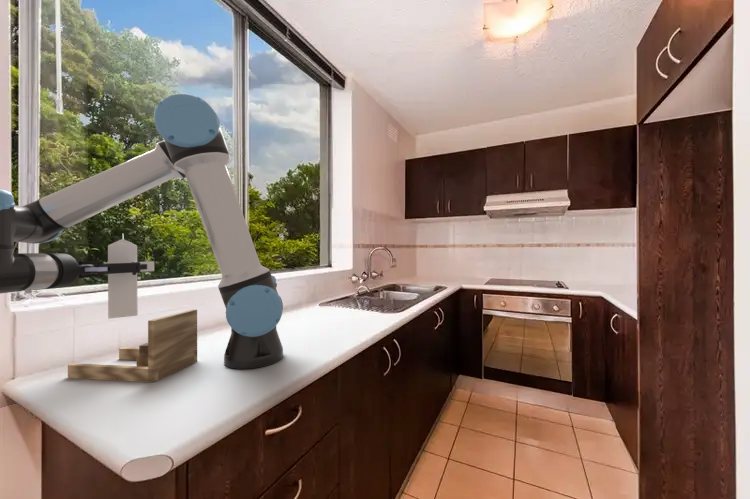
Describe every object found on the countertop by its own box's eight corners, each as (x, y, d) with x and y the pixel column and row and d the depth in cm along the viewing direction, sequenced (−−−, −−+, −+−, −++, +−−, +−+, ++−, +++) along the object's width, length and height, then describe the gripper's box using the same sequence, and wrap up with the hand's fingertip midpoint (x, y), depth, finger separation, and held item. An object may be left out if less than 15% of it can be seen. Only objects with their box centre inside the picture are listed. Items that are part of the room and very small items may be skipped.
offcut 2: (175, 357, 81) (175, 348, 81) (158, 367, 74) (158, 357, 74) (155, 358, 81) (155, 348, 81) (136, 367, 74) (136, 357, 74)
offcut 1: (174, 348, 81) (174, 339, 81) (157, 356, 75) (157, 345, 75) (158, 348, 81) (158, 338, 81) (139, 355, 75) (139, 345, 75)
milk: (108, 319, 79) (106, 232, 79) (109, 315, 84) (108, 234, 84) (138, 315, 82) (136, 233, 83) (138, 312, 87) (136, 234, 87)
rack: (197, 361, 84) (197, 309, 84) (153, 382, 70) (153, 320, 70) (123, 357, 87) (123, 308, 87) (67, 377, 73) (67, 318, 73)
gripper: (2, 288, 66) (105, 279, 89) (89, 288, 64) (172, 279, 87) (2, 254, 66) (105, 253, 89) (89, 252, 64) (172, 252, 87)
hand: (138, 266), depth 88 cm, fingers closed on milk, 8 cm apart
